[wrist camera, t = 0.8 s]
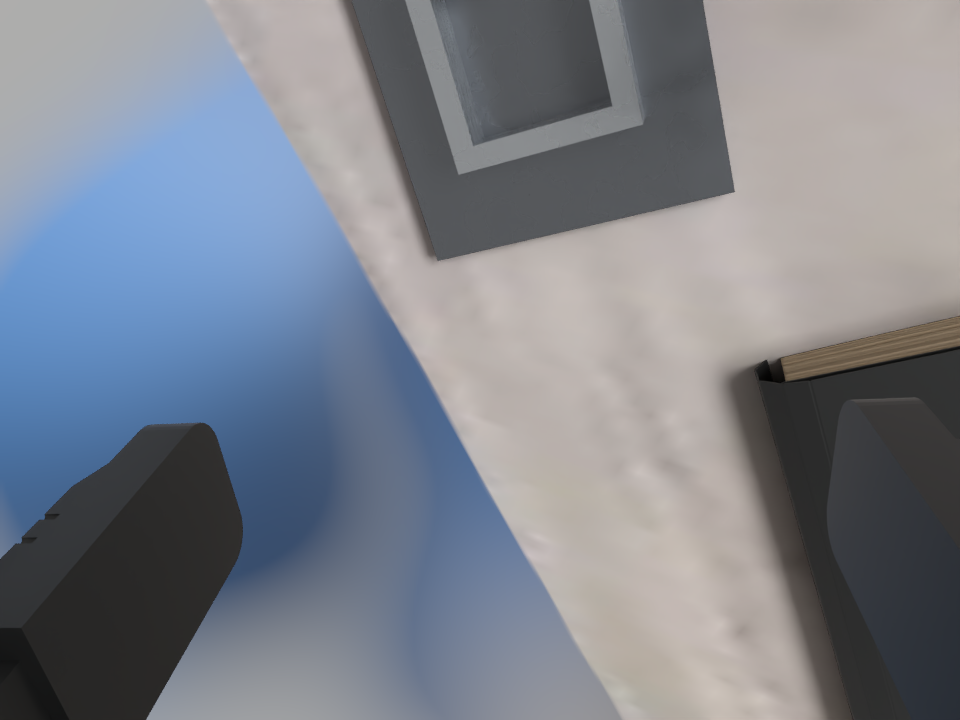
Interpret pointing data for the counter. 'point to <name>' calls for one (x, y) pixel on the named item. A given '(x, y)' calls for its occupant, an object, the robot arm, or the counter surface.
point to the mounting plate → (547, 112)
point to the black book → (809, 457)
